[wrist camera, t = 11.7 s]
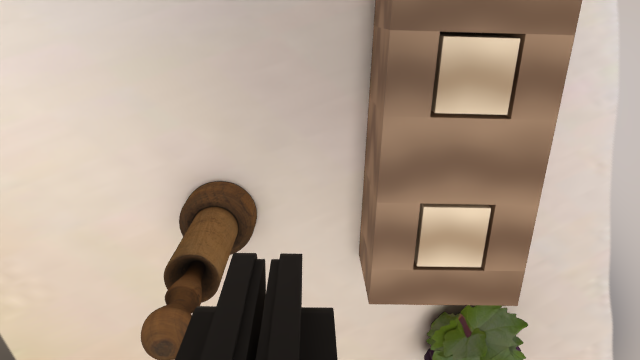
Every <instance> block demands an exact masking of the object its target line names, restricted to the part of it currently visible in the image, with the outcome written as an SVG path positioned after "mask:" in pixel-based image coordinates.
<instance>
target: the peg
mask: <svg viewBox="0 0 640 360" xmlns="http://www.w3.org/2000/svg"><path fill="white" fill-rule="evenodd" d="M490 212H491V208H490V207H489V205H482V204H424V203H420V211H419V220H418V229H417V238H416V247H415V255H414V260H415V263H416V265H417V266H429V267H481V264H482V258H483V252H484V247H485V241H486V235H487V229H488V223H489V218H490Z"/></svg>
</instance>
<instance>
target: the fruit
mask: <svg viewBox="0 0 640 360" xmlns="http://www.w3.org/2000/svg"><path fill="white" fill-rule="evenodd" d="M501 307H502V306H499V305H477V306H475V307H471V306H470V305H467V306H466V307H465V308H464V309H463V310H462V311H461V313H460V314H459V313H458V314H457V315H454V313H452V314H447V313H446V312H443V313H442V314H441V315H440V316H439V317H438V318H437V319H436V320H435V321H434V322H433V323H432V324H431V328H432V329H431V330H430V331H429V332H428V333H427V335H428V336H429V337H431V338H429V339H427V340H426V342H427V343H428V344H431V349H429V350H428V351H427V352H426V354H425V355H424V359H425V360H523V359H525V358H526V357H525V356H524V354H523V353H522V352H521V350H520V348H519V347H518V346H519V345H521V344H523V342H522V341H521V340H520V339H519V338H518V337H516V334H517V333H518V332H519V331H520V330H522V329H523V328H525V327H527V326H528V324H527V323H526V322H525V321H523V320H522V319H519V318H516V314H510V313H507V308H501Z"/></svg>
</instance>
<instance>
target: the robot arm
mask: <svg viewBox="0 0 640 360" xmlns="http://www.w3.org/2000/svg"><path fill="white" fill-rule="evenodd" d="M301 304H302V254H280V259H272V260H271V265H270V272H269V278H268V284H267V291H266V279H265V259H257V254H256V253H234V254H233V256H232V259H231V262H230V266H229V269H228V272H227V275H226V278H225V281H224V285H223V288H222V291H221V294H220V297H219V300H218V304H217V307H210V306H197V307H196V308H195V310H194V312H193V314H192V317H191V319H190V322H189V324H188V327H187V330H186V332H185V335H184V337H183V340H182V343H181V345H180V348H179V350H178V353H177V355H176V358H175V360H337V349H336V336H335V323H334V311H333V308H303V307H301Z"/></svg>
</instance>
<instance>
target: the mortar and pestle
mask: <svg viewBox="0 0 640 360" xmlns="http://www.w3.org/2000/svg"><path fill="white" fill-rule="evenodd" d="M256 219H257V212H256V207H255V204H254V201H253V199H252V198H251V196H250V195H249V194H248V193H247V192H246V191H245V190H244V189H242V188H241V187H239V186H237V185H235V184H232V183H229V182H211V183H207V184H205V185H202V186H200V187H199V188H197V189H196V190H195V191H194V192H193V193H192V194H191V195H190V196H189V198H188V199H187V201H186V203H185V204H184V206H183V208H182V210H181V213H180V219H179V224H180V230H181V233H182V235H183V239H182V240H181V242H180V244H179V245H178V247H177V249H176V251H175V252H174V254H173V256H172V257H171V259H170V261H169V263H168V264H167V266H166V268H165V271H164V282H165V285H166V287H167V289H168V291H167V292H166V295H165V302H166V304H167V305H166V306H163V307H161V308H159V309H157V310H155V311H154V312H152V313H151V314H150V315H149V316H148V317H147V319H146V320H145V322H144V324H143V327H142V330H141V342H142V345H143V348H144V349H145V351H146V352H147V353H148V354H149V355H150V356H151V357H153V358H155V359H157V360H174V359H175V358H176V355H177V353H178V350H179V348H180V345H181V343H182V340H183V337H184V335H185V332H186V330H187V327H188V324H189V322H190V319H191V317H192V315H191V313H193V312H194V310H195V308H196V307H197V306H200V304H201V303H202V302H205V301H207V300H209V299H210V298H211V297H213V296H214V295H215V293H216V292H217V290H218V288H219V285H220V282H221V279H222V276H223V273H224V269H225V267H226V264H227V261H228V258H229V255H231V254H233V253H236V252H237V251H239V250H241V249H242V248H243V247H244V246H245V245H246V244H247V243H248V241H249V240H250V238H251V236H252V233H253V230H254V227H255V224H256Z"/></svg>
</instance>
